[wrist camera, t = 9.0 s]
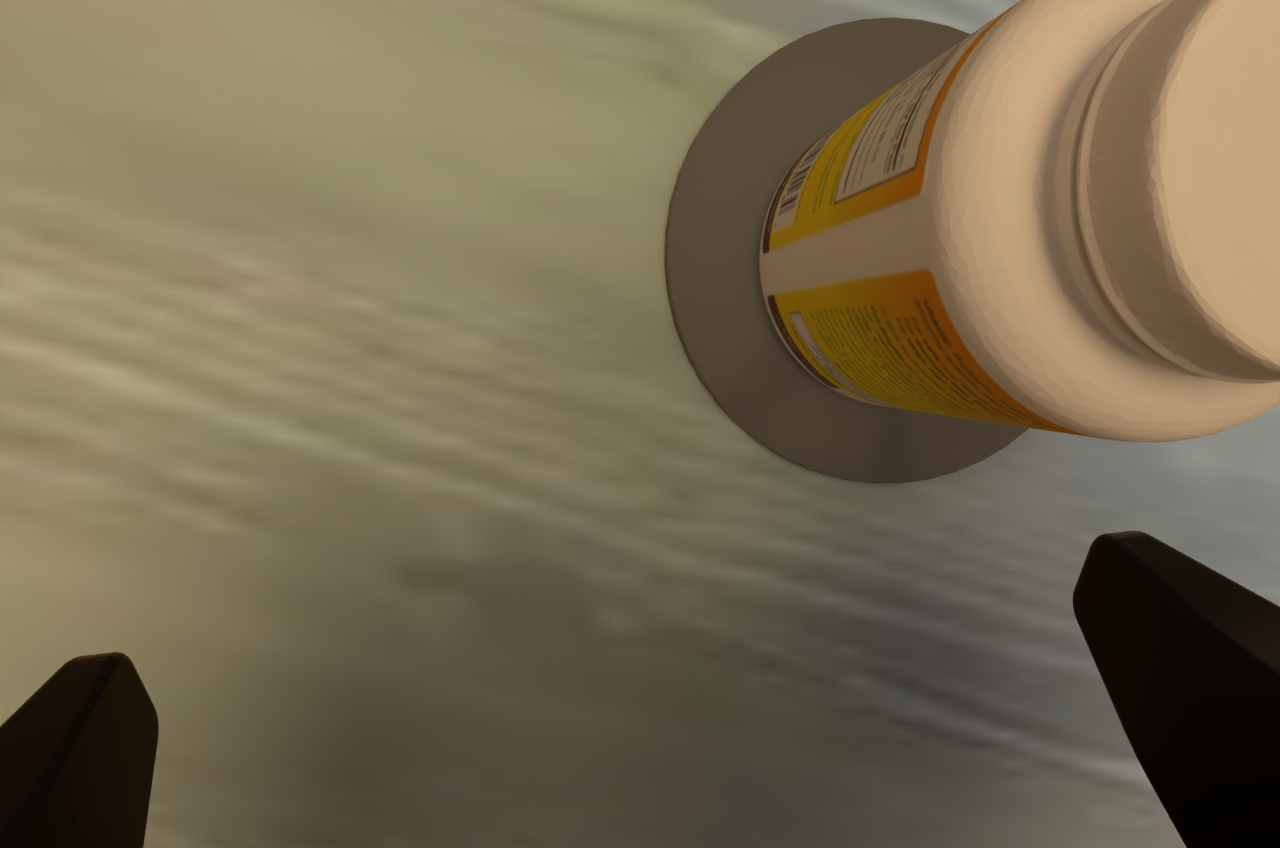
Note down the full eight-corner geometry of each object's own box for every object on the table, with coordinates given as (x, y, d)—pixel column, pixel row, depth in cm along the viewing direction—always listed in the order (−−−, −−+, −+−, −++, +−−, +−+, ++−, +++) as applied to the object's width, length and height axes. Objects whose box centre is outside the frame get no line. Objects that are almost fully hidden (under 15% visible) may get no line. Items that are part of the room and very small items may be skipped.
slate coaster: (1164, 328, 20) (1181, 327, 19) (814, 564, 19) (822, 570, 19) (958, -59, 19) (971, -70, 18) (575, 178, 18) (577, 173, 17)
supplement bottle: (1018, 401, 19) (1608, 464, 9) (751, 408, 18) (1062, 488, 8) (1023, 118, 18) (1654, -158, 8) (748, 112, 18) (1077, -199, 8)
